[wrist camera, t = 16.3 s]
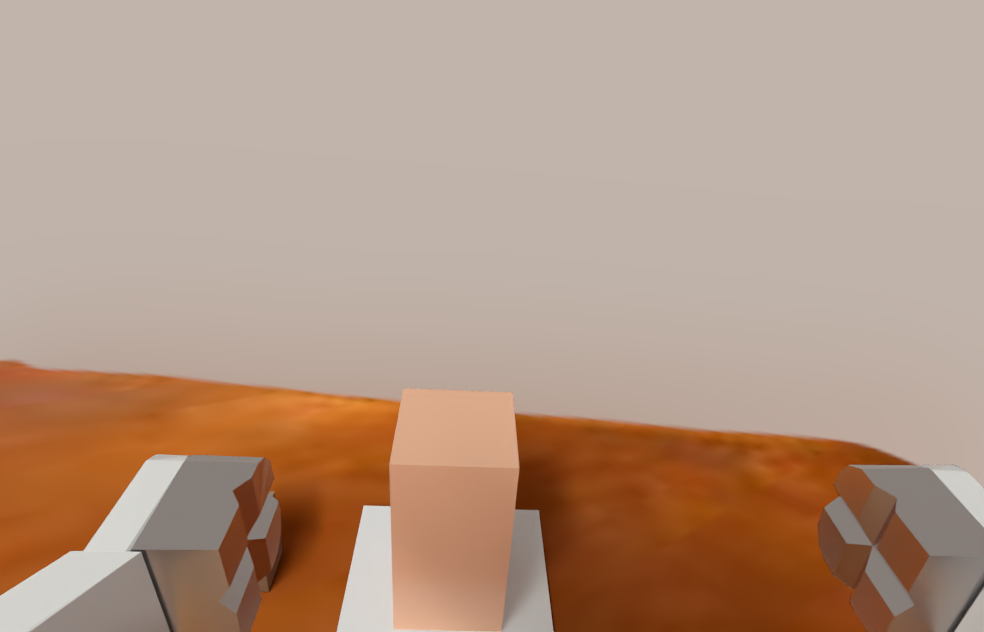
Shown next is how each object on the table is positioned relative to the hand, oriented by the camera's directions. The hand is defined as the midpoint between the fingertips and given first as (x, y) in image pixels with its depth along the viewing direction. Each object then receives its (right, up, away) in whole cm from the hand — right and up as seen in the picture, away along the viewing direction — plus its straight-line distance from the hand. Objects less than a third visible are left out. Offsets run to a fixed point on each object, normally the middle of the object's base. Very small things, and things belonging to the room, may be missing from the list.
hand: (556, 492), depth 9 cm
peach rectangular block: (-3, -14, +28) cm, 31 cm away
